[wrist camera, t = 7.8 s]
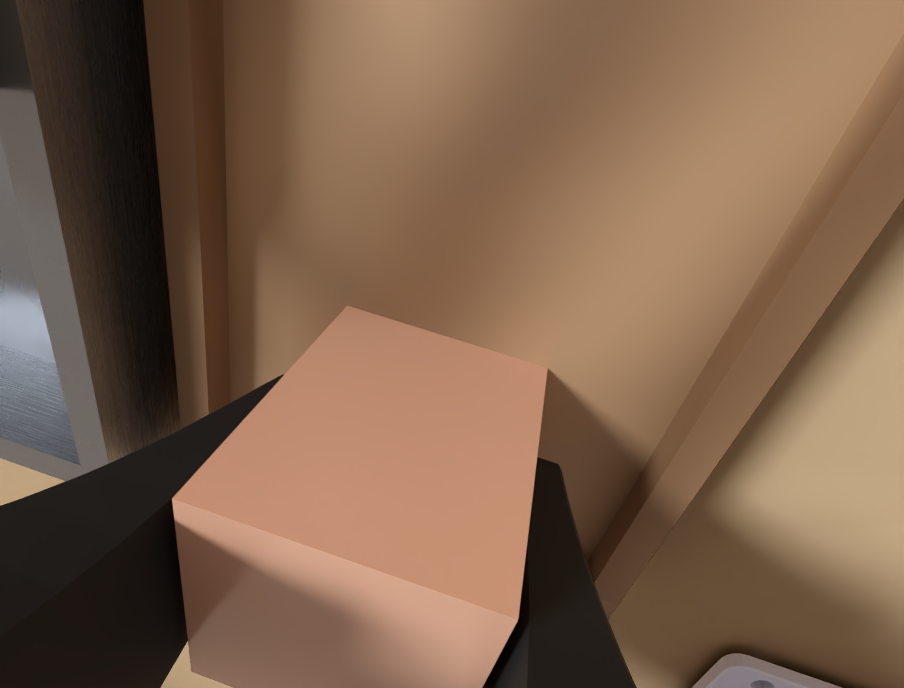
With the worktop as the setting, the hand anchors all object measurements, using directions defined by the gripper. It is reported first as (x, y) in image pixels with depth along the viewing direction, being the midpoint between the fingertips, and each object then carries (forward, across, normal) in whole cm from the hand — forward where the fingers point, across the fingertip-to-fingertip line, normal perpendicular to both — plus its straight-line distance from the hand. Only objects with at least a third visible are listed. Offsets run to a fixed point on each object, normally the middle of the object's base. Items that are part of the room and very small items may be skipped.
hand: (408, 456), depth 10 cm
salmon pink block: (+1, 0, 0) cm, 1 cm away
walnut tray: (+2, 0, -3) cm, 4 cm away
